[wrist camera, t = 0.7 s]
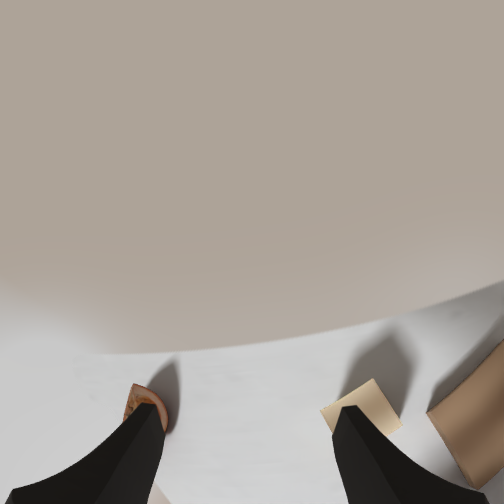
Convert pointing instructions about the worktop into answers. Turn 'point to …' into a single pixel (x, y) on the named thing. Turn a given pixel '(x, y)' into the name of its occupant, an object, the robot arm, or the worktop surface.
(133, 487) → the robot arm
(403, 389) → the worktop surface
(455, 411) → the walnut block
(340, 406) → the birch block
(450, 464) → the worktop surface
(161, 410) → the fruit slice
